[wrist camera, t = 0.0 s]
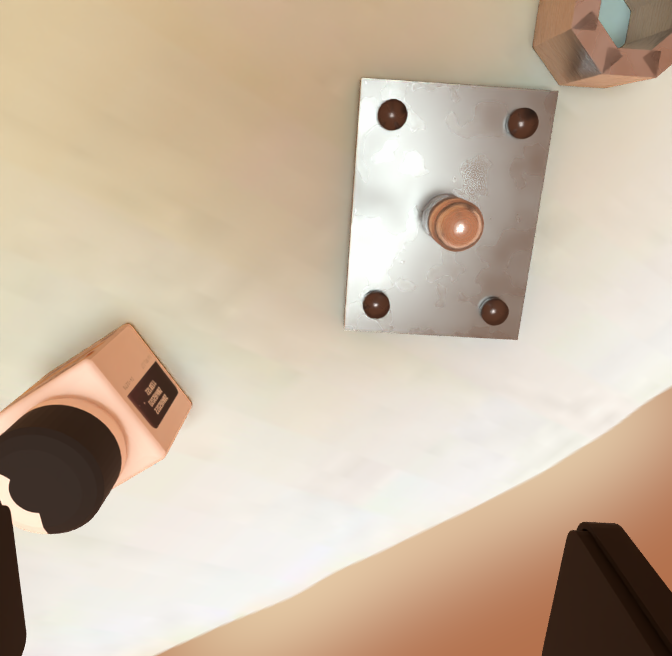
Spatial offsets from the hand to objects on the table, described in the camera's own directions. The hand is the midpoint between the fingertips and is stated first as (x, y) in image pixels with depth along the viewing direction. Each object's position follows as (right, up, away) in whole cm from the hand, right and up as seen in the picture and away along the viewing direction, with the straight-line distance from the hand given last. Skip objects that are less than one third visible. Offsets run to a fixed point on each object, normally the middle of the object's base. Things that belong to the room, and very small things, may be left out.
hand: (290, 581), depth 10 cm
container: (-15, 0, +33) cm, 36 cm away
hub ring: (+17, +23, +26) cm, 38 cm away
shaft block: (+8, +12, +29) cm, 32 cm away
